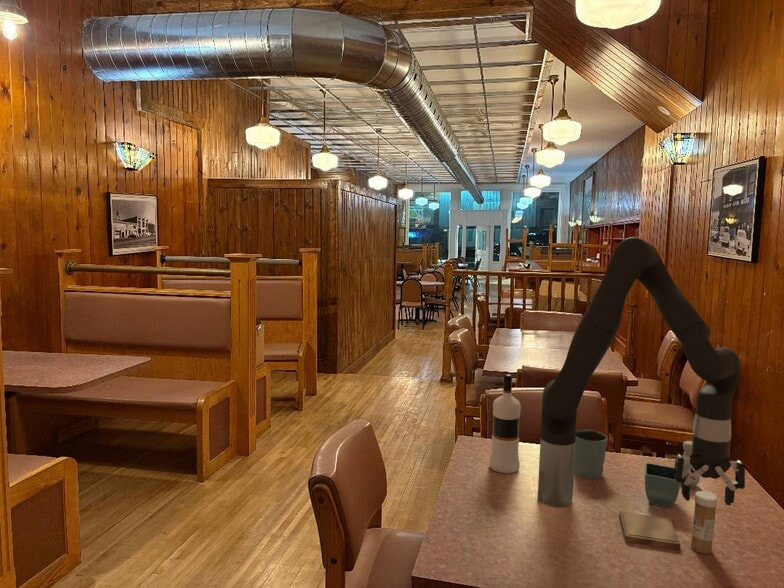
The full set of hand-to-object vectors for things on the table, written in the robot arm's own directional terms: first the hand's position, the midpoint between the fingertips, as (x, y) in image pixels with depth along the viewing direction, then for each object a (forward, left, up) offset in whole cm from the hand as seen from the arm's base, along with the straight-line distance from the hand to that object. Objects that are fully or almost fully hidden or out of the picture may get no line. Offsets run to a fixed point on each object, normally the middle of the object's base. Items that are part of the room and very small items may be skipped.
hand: (706, 501), depth 129 cm
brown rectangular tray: (-11, +4, -12) cm, 17 cm away
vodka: (-48, +31, -12) cm, 59 cm away
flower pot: (-5, +22, -12) cm, 25 cm away
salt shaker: (+5, +36, -12) cm, 38 cm away
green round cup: (-23, +36, -12) cm, 44 cm away
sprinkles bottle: (0, 0, -12) cm, 12 cm away
